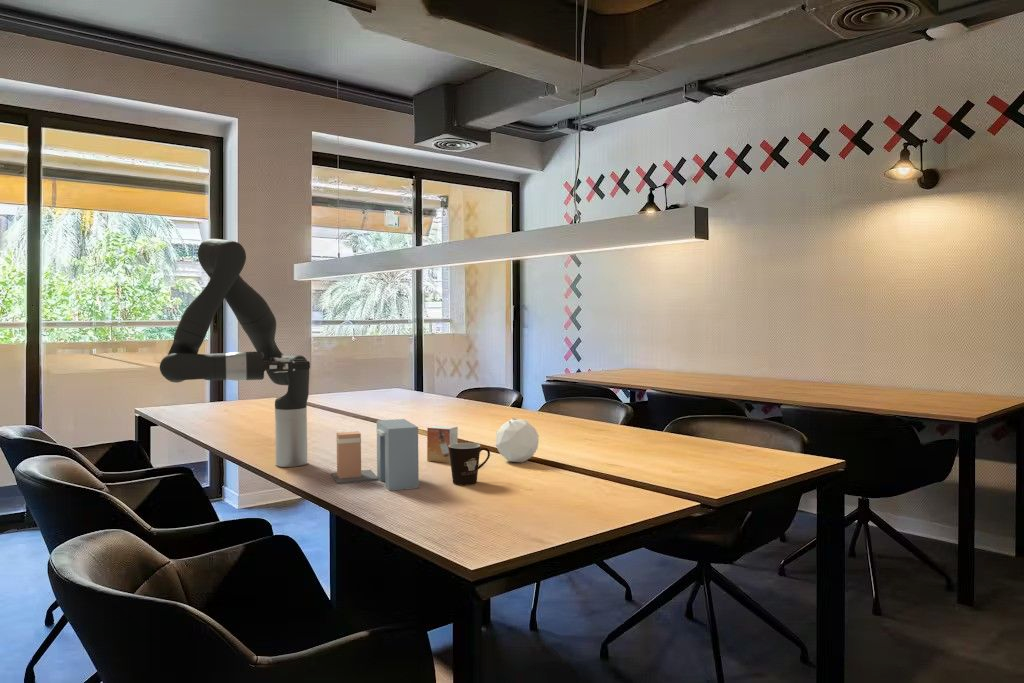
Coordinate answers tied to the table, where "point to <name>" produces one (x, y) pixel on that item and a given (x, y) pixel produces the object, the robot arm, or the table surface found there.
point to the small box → (440, 442)
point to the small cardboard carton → (348, 454)
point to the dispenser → (397, 454)
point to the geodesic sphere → (517, 440)
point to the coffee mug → (465, 462)
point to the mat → (365, 476)
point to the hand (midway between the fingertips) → (308, 364)
